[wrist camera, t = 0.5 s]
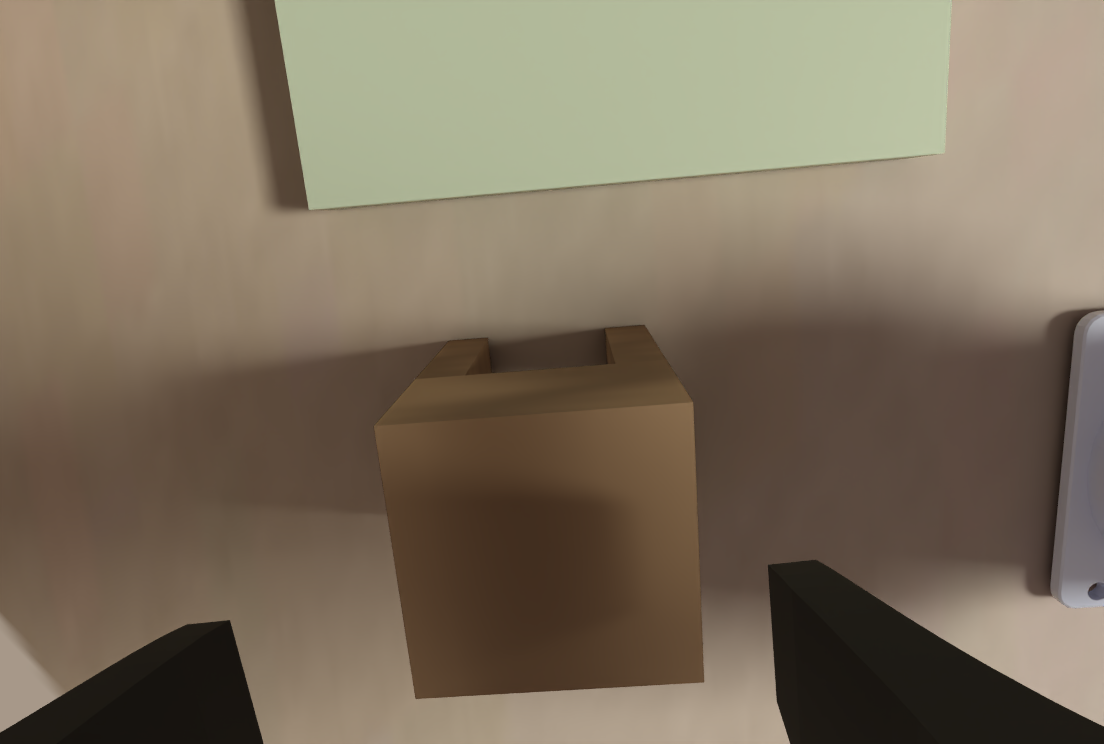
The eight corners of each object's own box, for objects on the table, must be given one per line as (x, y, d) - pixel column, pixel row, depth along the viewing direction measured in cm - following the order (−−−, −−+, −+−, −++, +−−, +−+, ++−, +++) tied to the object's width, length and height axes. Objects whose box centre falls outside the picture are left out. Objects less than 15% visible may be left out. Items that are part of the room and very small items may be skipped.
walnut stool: (644, 325, 17) (692, 402, 11) (654, 506, 19) (704, 682, 12) (449, 340, 18) (373, 426, 11) (471, 519, 19) (415, 699, 12)
